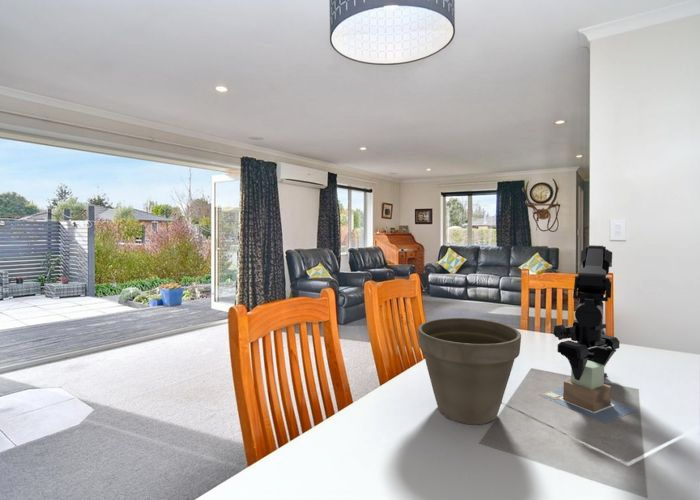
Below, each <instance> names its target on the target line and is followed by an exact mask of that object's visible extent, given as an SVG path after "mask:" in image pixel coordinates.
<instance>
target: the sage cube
mask: <svg viewBox="0 0 700 500" xmlns="http://www.w3.org/2000/svg"><path fill="white" fill-rule="evenodd" d="M570 371H571V372H570V377H571V378H570V379H571V382H572V383H575V384H578V385H580V386H583V387H586V388H589V389H594V388H597V387H600V386H603V385H604V384H605V383H604V382H605V381H604V380H605V376H604V373H605V367H604V365H602V364H599V363H595V362H592V361H589V360H588V361H587V363H586V366H585V368H584V371H583V374H582V376H581V378H580V380H576V379H575V378H574V375H573V372H572V369H571V370H570Z"/></svg>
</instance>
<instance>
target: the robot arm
mask: <svg viewBox="0 0 700 500" xmlns="http://www.w3.org/2000/svg"><path fill="white" fill-rule="evenodd" d="M579 260H580V261H579V263H580V266H582V267H581V268H580V269H579V270H578V273H577V274H578V275H575V276H574V285H573V294H572V295H573V296H572V298H573V299H578V301H577V304H578V305H577V307H576V309H575V312H574V317H575V321H574V322H572V325H571V326H564V324H558V325H554V326H553V336H554V337H555V338H557V340H558V341H561V342H559V343H558V344H557V346H556V347H557V353H560V355H562V356H564V357H565V358H566V359H567V360H568V362H569V365H570V368H571V369H572V372H573V375H574V378H575V379H576V380H580V378H581V376H582V374H583V371H584V368H585V366H586V363H587V361H588V360H589V361H592V362H595V363H599V364H602V365H604V368H605V367H606V366H607V364H608V362H609V361H610V359H611V357H612V356H613V355H614V354H615V352H617V350H618V349H620V340H619V339H618V337H616V336H611V335H608V334H607V333H606V331H605V329H607V323H603V322H604V302H606V303H607V302H608V301H609V299H611V298H612V281H611V279H610V277H607V275H608V274H609V272H610V268H613V251H610V250H609V249H607V247H606V246H604V245H593V244H591V245H586V246H585V248H584V249H582V250H581V251H580V259H579ZM565 339H567V340H565ZM569 339H570V340H569ZM562 340H564V341H562ZM607 376H608V373H607V372H604V377H607Z"/></svg>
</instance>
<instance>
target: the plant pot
mask: <svg viewBox="0 0 700 500" xmlns="http://www.w3.org/2000/svg"><path fill="white" fill-rule="evenodd" d="M417 330H418V331H417V333H418V346H419V349H420V350H421V351H422V352H423V355H424V359H425V364H426V369H427V372H428V376H429V379H430V383H431V387H432V391H433V395H434V398H435V401H436V405H437V408H438V410H439V412H440V414H441V415H443V416H444V417H446V418H448V419H450V420H451V419H452V420H451V421H453V422H457V423H460V422H461V424H466V425H483V424H484V425H485V424H488V423H491V422H493V421H494V420H495V419H496V418H497V417H498V414H499V411H500V408H501V405H502V402H503V398H504V395H505V391H506V389H507V385H508V382H509V379H510V375H511V372H512V369H513V366H514V363H515V360H516V359H517V358H518V357H519V355H520V353H521V342H522V341H521V339H522V333H521V332H520V331H519V330H518V329H517V328H515V327H513V326H511V325H508V324H505V323H501V322H498V321H493V320H487V319H482V318H473V317H472V318H471V317H446V318H445V317H444V318H437V319H436V318H435V319H431V320H428V321H425V322H422V323H421V324H420V325H419V326H418V328H417Z"/></svg>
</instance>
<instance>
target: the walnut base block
mask: <svg viewBox="0 0 700 500" xmlns="http://www.w3.org/2000/svg"><path fill="white" fill-rule="evenodd" d="M563 387H564V391H563V399H564V400H566V401H569V402H571V403H573V404H576V405H578V406H581V407H583V408H586V409H588V410H591V411H595V410H598V409H601V408H603V407H606V406H609V405H611V400H612V386H611V385H608V384H605V383H604V385H603V386H600V387H597V388H594V389H589V388H586V387H583V386H580V385H578V384H575V383H572V382H571V378H570V379H567V380H565V381H563Z"/></svg>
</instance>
